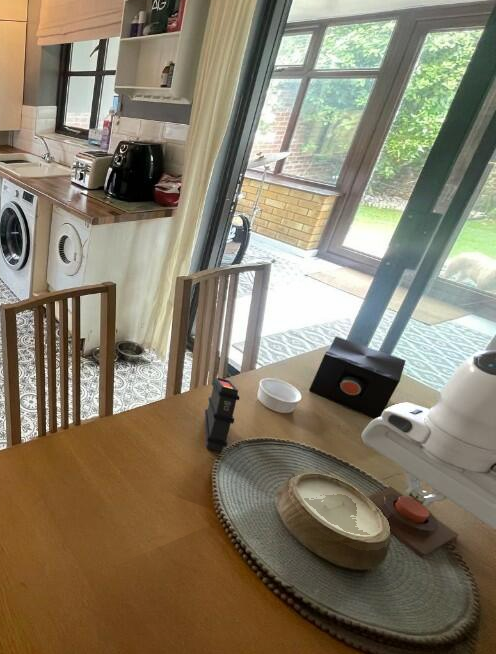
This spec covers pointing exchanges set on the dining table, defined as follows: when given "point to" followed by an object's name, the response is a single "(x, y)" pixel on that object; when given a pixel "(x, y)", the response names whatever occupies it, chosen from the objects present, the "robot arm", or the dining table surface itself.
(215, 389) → the black battery pack
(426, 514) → the button
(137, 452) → the dining table surface
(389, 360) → the console
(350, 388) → the push knob
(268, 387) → the ramekin
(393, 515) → the button block
